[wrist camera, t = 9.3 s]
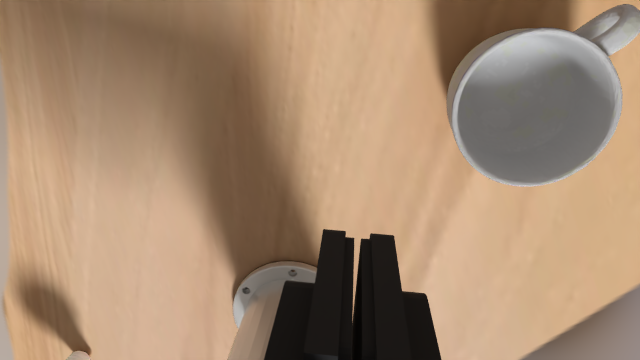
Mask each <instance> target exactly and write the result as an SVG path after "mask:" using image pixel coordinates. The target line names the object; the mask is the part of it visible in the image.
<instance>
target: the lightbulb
mask: <svg viewBox="0 0 640 360" xmlns="http://www.w3.org/2000/svg"><path fill="white" fill-rule="evenodd" d="M66 360H91V359H90V356H89V355H88V354H87V353H86V352H83V351H75V352H73V353H72V354H71V355H70V356H69V357H68V358H67V359H66Z"/></svg>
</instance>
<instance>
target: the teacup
mask: <svg viewBox="0 0 640 360" xmlns="http://www.w3.org/2000/svg"><path fill="white" fill-rule="evenodd" d="M639 33H640V11H639V10H638V9H637V8H636V7H635V6H633V5H629V4H622V5H618V6H615V7H613V8H611V9H609V10H607V11H605V12H603V13H601V14H600V15H598V16H596V17H595V18H593V19H592V20H590V21H589V22H587V23H586V24H584V25H583V26H582V27H580V28H579V29H577V30H576V31H574V32H571V31H567V30H563V29H558V28H525V29H515V30H509V31H506V32H502V33H499V34H497V35H494V36H492V37H490V38H488V39H486V40H485V41H483V42H481V43H480V44H479V45H477V46H476V47H474V48H473V49H472V50H471V51H470V52H469V53H468V54H467V55H466V56H465V57H464V58H463V60H462V61H461V62H460V64H459V65H458V67H457V68H456V70H455V72H454V74H453V76H452V79H451V81H450V84H449V88H448V93H447V115H448V119H449V123H450V126H451V129H452V131H453V134H454V137H455V140H456V143H457V145H458V147H459V150H460V151H461V153H462V154H463V156H464V157H465V159H466V160H467V161H468V162H469V163H470V165H471V166H472V167H474V168H475V169H476V170H477V171H478V172H480V173H481V174H483V175H484V176H486V177H488V178H489V179H492V180H494V181H496V182H499V183H503V184H507V185H513V186H522V187H523V186H539V185H545V184H549V183H553V182H556V181H559V180H562V179H565V178H567V177H569V176H571V175H573V174H574V173H576V172H578V171H579V170H581V169H582V168H584V167H585V166H587V165H588V164H589V163H590V162H591V161H592V160H594V159H595V157H596V156H597V155H598V154H599V153H600V152H601V151H602V150H603V149H604V148H605V146H606V144H607V143H608V142H609V140H610V139H611V137H612V136H613V134H614V132H615V130H616V127H617V124H618V121H619V118H620V115H621V109H622V88H621V84H620V80H619V77H618V74H617V72H616V70H615V68H614V66H613V64H612V62H611V60H610V59H609V57H608V56H610V55H612V54H613V53H615V52H617V51H618V50H620V49H621V48H623V47H624V46H626V45H627V44H628V43H630V42H631V41H632V40H633V39H634V38H635V37H636V36H637V35H638V34H639Z"/></svg>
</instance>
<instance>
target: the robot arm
mask: <svg viewBox="0 0 640 360" xmlns="http://www.w3.org/2000/svg"><path fill="white" fill-rule="evenodd" d="M345 235H346V231H337V230H325V229H323V235H322V241H321V247H320V253H319V259H318V266H317V268H316V267H314V266H311V265H308V264H305V263H300V262H293V261H281V262H275V263H270V264H267V265H264V266H261V267H259V268H257V269H256V270H254V271H253V272H251V273H250V274H249V275H248V276H247V277H246V278H245V279H244V280H243V281H242V283H241V284H240V286H239V287H238V290H237V292H236V294H235V297H234V302H233V316H234V320H235V324H236V326H237V328H238V332H237V334H236V337H235V340H234V343H233V345H232V348H231V351H230V353H229V356H228V359H227V360H441V356H440V352H439V347H438V343H437V338H436V334H435V330H434V325H433V321H432V316H431V312H430V308H429V303H428V299H427V296H426V294H425V293H415V292H404V291H402V288H401V281H400V274H399V268H398V261H397V254H396V247H395V240H394V236H393V235H383V234H370V239H361V245H360V254H359V264H358V274H357V284H356V294H355V304H354V314H353V323H352V311H353V269H354V238H348V237H345Z"/></svg>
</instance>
